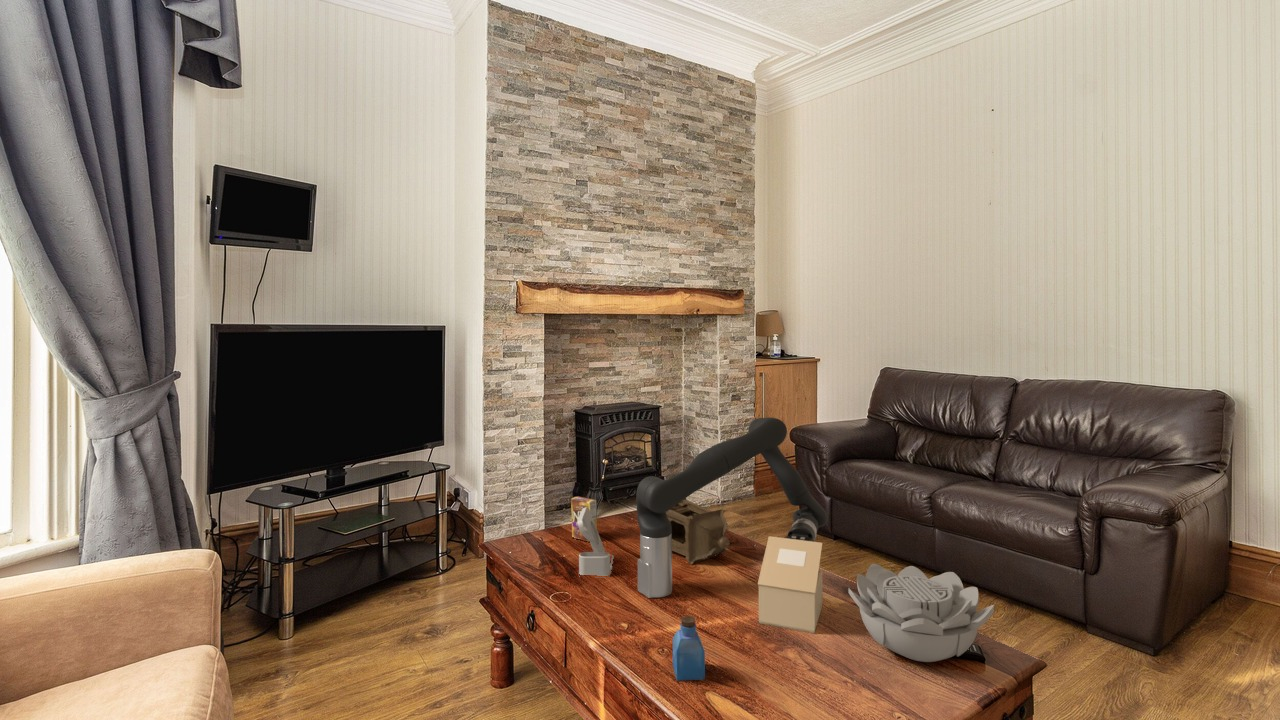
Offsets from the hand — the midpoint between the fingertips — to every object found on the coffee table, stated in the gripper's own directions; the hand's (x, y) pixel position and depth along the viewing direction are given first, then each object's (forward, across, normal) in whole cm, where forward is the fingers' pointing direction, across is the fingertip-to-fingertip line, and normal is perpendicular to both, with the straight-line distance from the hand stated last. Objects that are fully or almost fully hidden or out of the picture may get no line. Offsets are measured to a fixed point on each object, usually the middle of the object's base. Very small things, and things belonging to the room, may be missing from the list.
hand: (793, 555), depth 163 cm
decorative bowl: (+10, +29, +15) cm, 34 cm away
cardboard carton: (+3, 0, +15) cm, 15 cm away
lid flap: (+4, 0, +1) cm, 4 cm away
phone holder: (-8, -64, +16) cm, 66 cm away
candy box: (-29, -79, +16) cm, 86 cm away
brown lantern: (-31, -39, +16) cm, 52 cm away
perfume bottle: (+39, -17, +15) cm, 45 cm away
